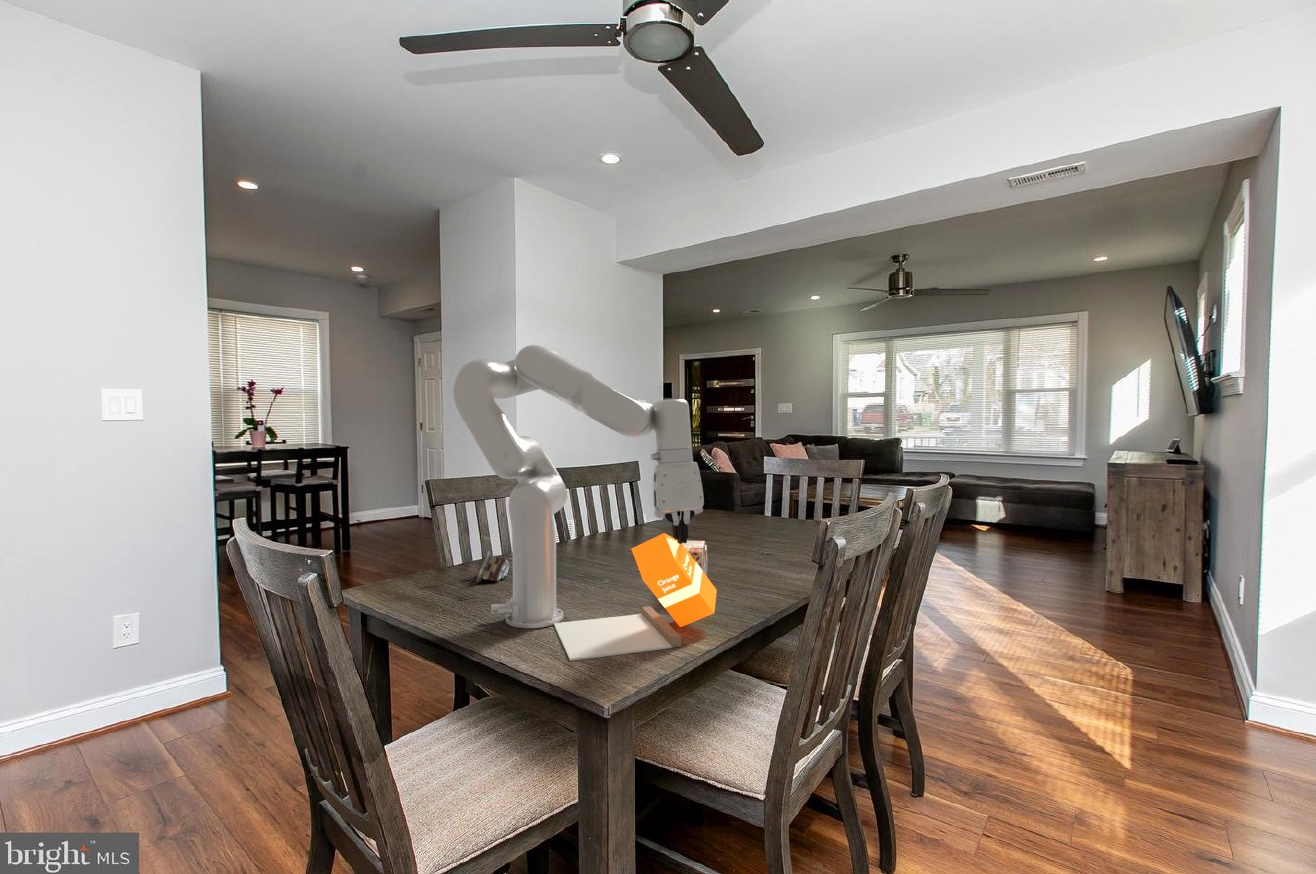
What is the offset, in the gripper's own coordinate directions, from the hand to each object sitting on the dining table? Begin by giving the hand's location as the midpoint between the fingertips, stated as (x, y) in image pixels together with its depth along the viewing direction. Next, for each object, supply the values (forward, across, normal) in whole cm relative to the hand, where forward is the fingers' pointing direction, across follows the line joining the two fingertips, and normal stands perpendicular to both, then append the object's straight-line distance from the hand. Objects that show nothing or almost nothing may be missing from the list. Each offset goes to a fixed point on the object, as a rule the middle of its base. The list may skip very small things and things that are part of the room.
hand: (681, 542), depth 128 cm
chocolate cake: (+16, -40, +48) cm, 64 cm away
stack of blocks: (+19, +12, +29) cm, 37 cm away
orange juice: (+15, +4, +2) cm, 16 cm away
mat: (+17, -17, 0) cm, 24 cm away
